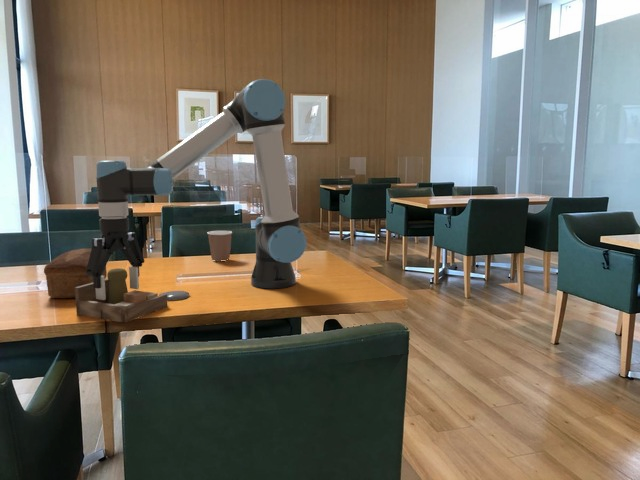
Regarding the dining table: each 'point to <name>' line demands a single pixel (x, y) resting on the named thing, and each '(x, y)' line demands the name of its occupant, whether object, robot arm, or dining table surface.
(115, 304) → the offcut
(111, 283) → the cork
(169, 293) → the coaster
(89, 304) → the tray
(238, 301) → the dining table surface
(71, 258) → the bread
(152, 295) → the offcut
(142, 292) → the offcut
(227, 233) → the coffee cup
